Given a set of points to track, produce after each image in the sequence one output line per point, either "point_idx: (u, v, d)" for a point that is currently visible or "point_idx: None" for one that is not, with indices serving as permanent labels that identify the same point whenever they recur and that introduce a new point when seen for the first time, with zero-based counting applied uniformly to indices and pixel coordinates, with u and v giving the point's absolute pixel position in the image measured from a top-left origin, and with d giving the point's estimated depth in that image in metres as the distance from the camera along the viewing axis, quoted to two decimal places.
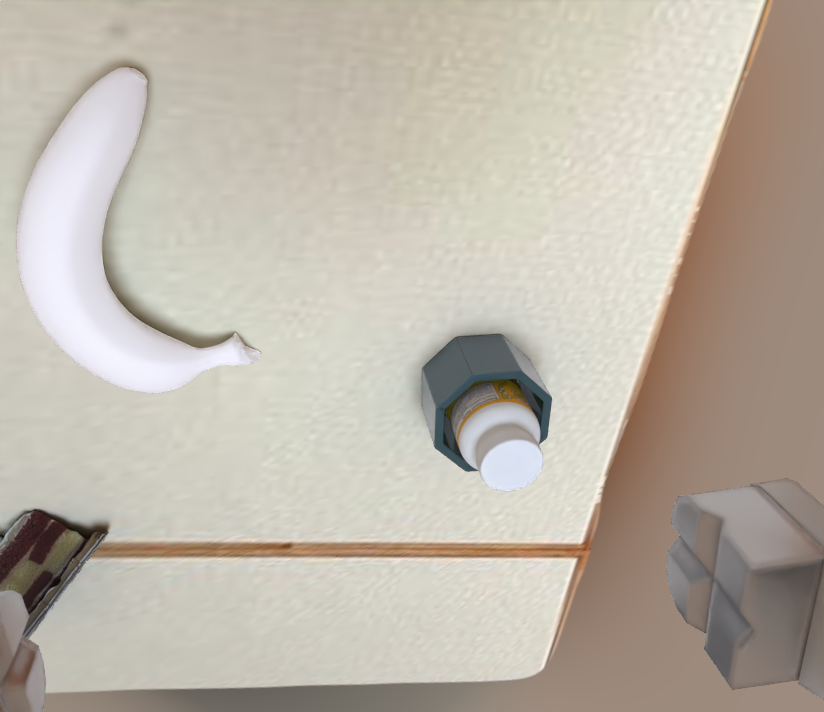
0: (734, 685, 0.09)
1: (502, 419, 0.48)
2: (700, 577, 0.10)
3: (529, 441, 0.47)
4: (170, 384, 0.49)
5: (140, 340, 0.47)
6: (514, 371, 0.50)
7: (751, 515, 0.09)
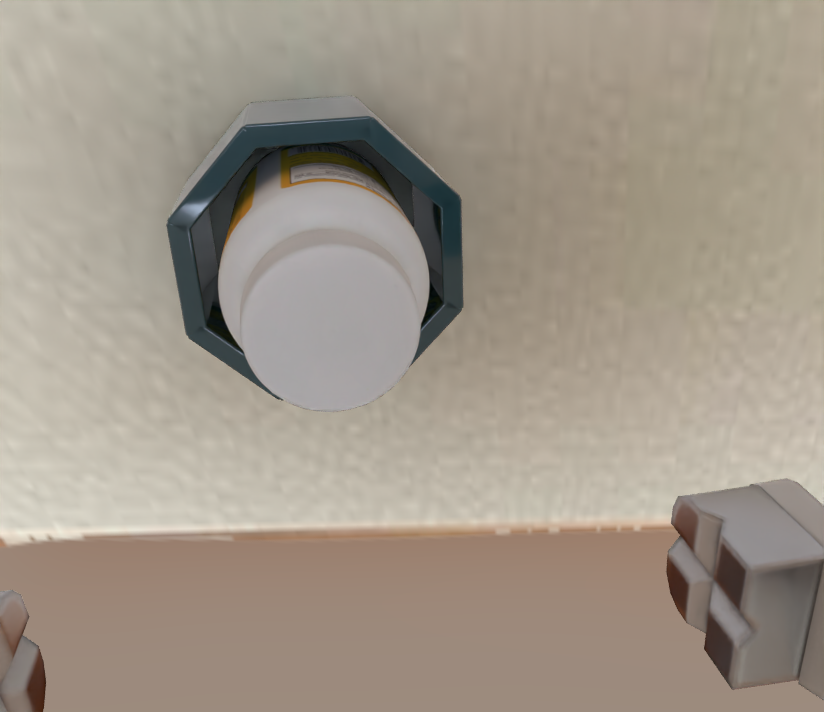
0: (734, 686, 0.09)
1: (411, 284, 0.19)
2: (700, 577, 0.10)
3: (411, 361, 0.18)
4: None
5: None
6: (462, 293, 0.22)
7: (751, 515, 0.09)
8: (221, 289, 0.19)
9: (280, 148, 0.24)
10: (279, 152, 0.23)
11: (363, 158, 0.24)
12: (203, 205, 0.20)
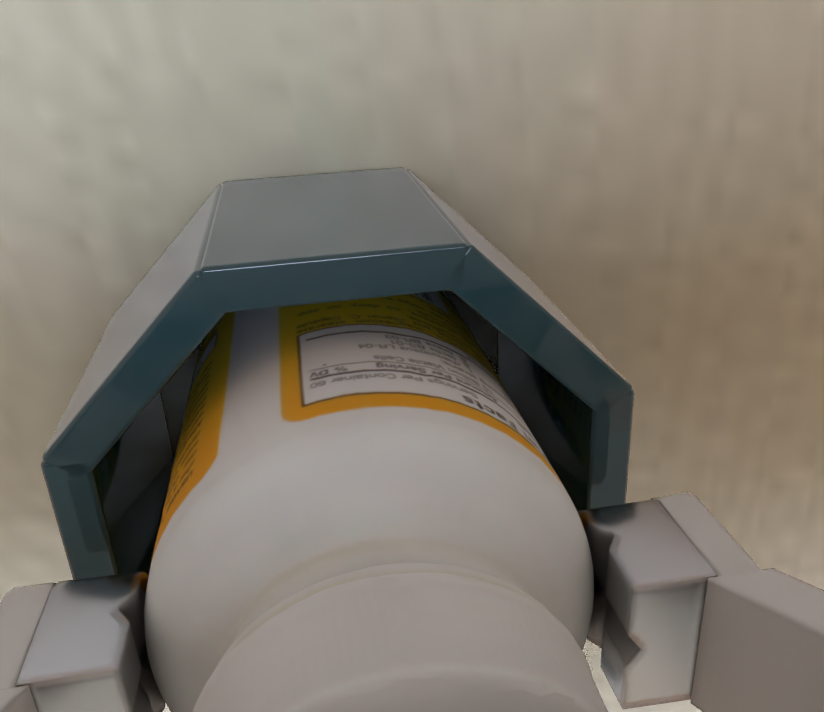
0: (624, 705, 0.09)
1: (567, 621, 0.09)
2: (596, 592, 0.10)
3: None
4: None
5: None
6: None
7: (643, 531, 0.09)
8: (149, 644, 0.09)
9: None
10: None
11: None
12: (117, 426, 0.10)
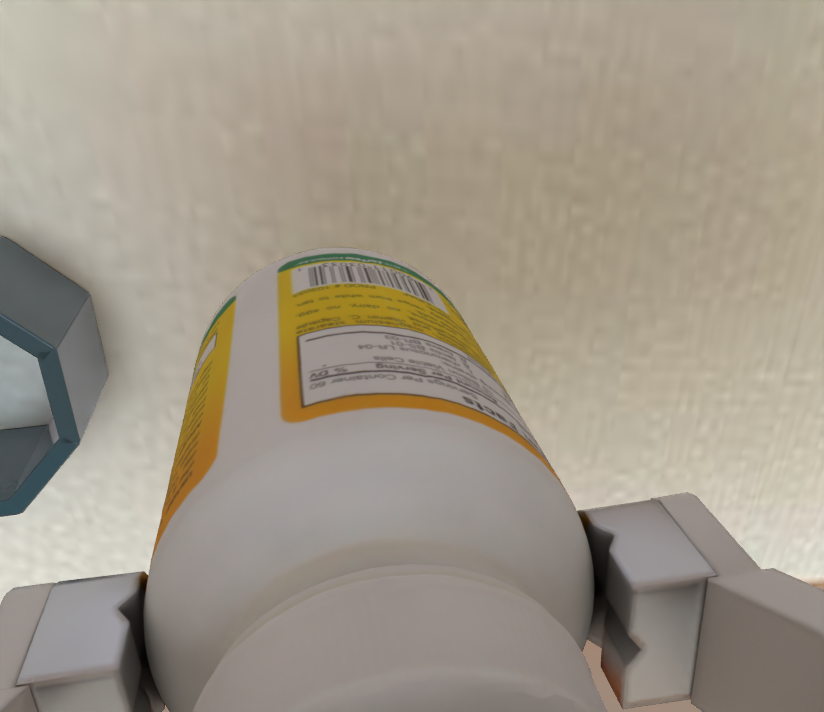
0: (624, 705, 0.09)
1: (568, 622, 0.09)
2: (597, 593, 0.10)
3: None
4: None
5: None
6: (76, 430, 0.24)
7: (643, 531, 0.09)
8: (149, 646, 0.09)
9: (277, 263, 0.14)
10: (275, 275, 0.13)
11: (424, 279, 0.14)
12: None
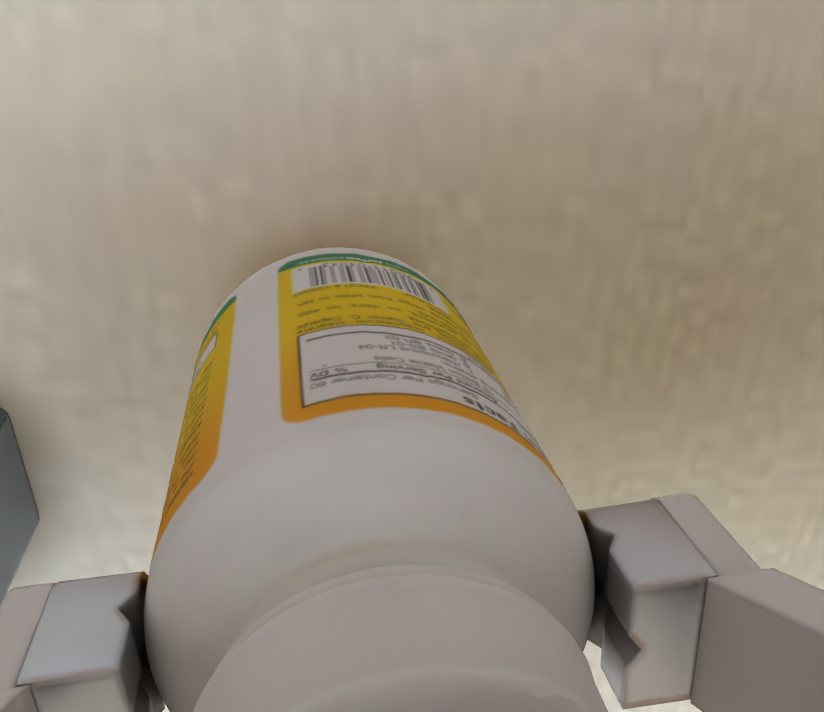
0: (625, 706, 0.09)
1: (568, 622, 0.09)
2: (597, 593, 0.10)
3: None
4: None
5: None
6: None
7: (643, 531, 0.09)
8: (149, 646, 0.09)
9: (277, 263, 0.14)
10: (276, 275, 0.13)
11: (424, 279, 0.14)
12: None
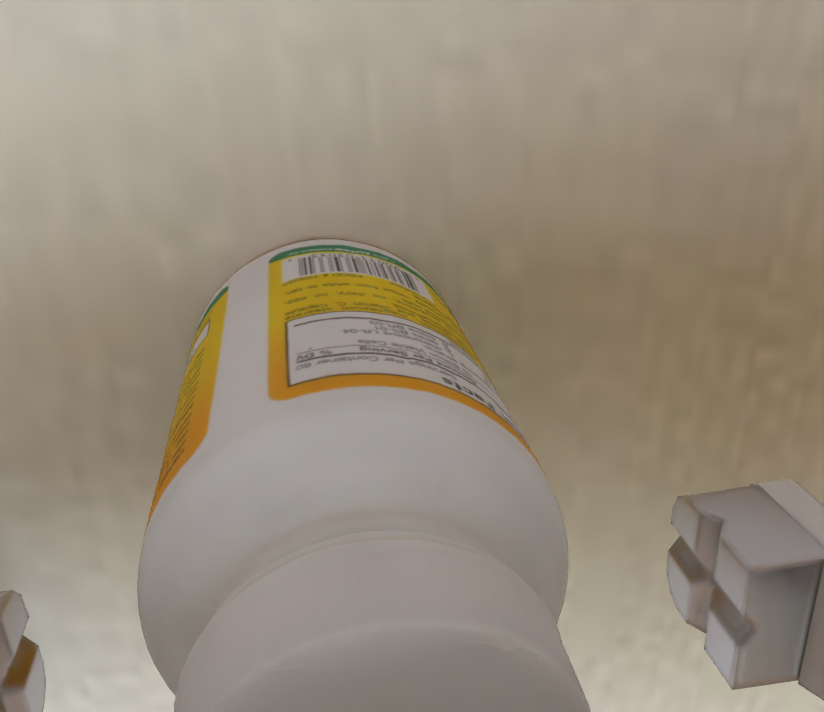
0: (734, 686, 0.09)
1: (541, 591, 0.09)
2: (700, 577, 0.10)
3: None
4: None
5: None
6: None
7: (751, 515, 0.09)
8: (142, 613, 0.09)
9: (268, 254, 0.14)
10: (266, 266, 0.13)
11: (411, 270, 0.14)
12: None
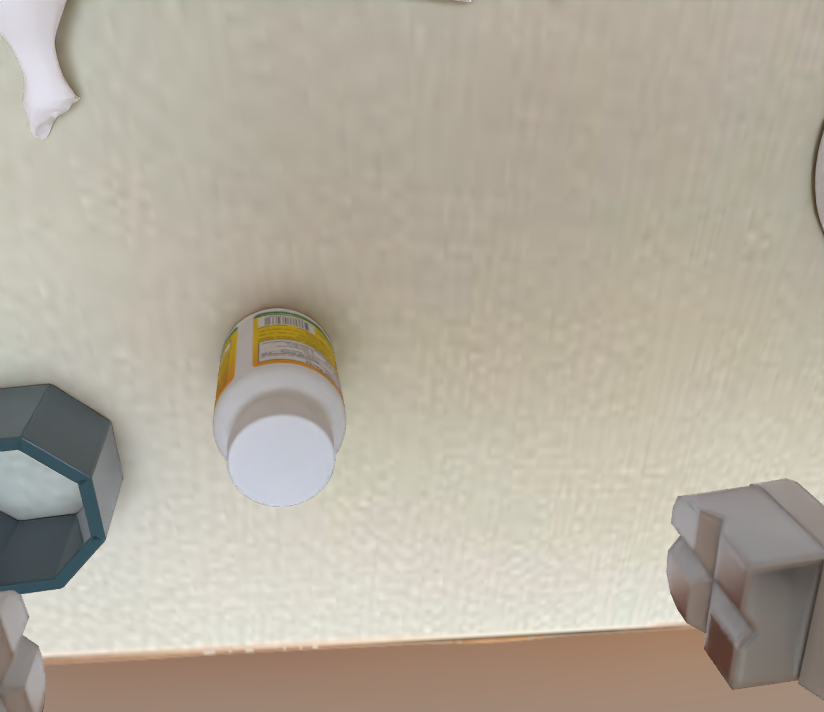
0: (734, 685, 0.09)
1: (333, 424, 0.31)
2: (700, 576, 0.10)
3: None
4: None
5: None
6: (103, 530, 0.34)
7: (751, 515, 0.09)
8: (215, 428, 0.31)
9: (253, 314, 0.36)
10: (252, 320, 0.35)
11: (309, 321, 0.36)
12: None
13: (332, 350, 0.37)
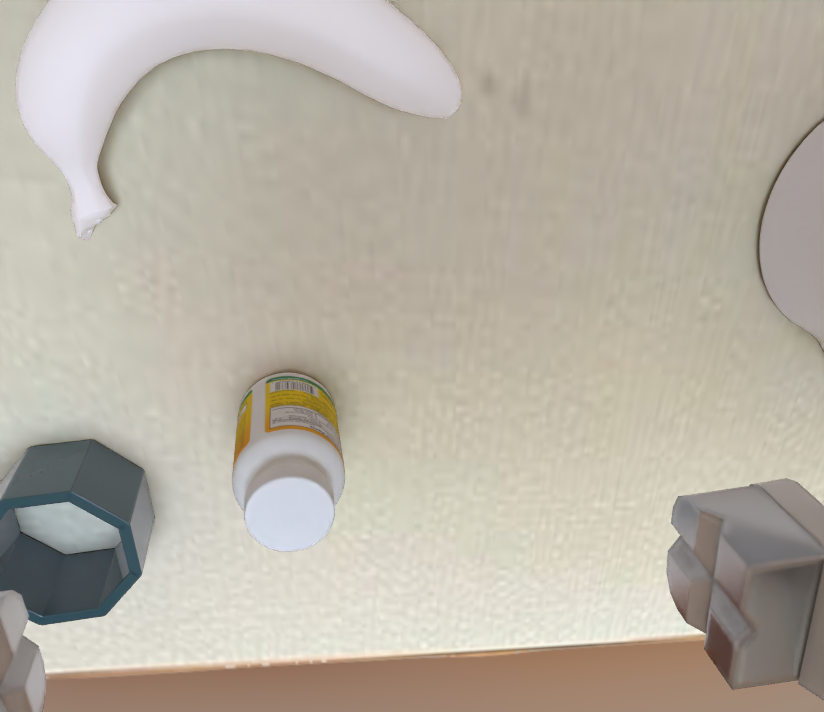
0: (734, 687, 0.09)
1: (333, 480, 0.37)
2: (700, 577, 0.10)
3: None
4: (40, 130, 0.33)
5: (113, 91, 0.33)
6: (139, 567, 0.40)
7: (751, 515, 0.09)
8: (234, 484, 0.37)
9: (265, 379, 0.42)
10: (265, 384, 0.41)
11: (314, 384, 0.42)
12: None
13: (334, 408, 0.42)
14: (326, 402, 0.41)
